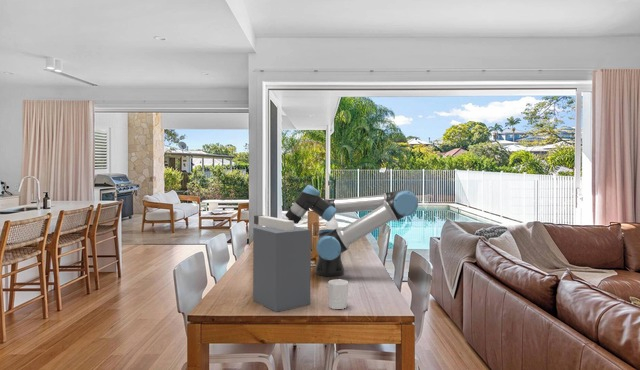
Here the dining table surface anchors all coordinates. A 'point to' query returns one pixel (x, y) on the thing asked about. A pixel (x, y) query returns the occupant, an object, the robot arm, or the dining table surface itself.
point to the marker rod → (274, 222)
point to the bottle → (332, 224)
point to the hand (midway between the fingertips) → (270, 247)
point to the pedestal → (281, 267)
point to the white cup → (338, 293)
